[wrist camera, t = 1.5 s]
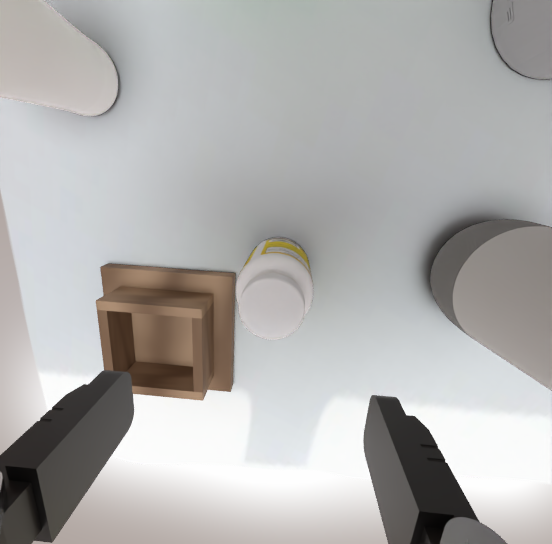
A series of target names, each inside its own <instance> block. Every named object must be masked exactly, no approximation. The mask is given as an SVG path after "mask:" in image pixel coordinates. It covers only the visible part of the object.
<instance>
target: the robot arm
mask: <svg viewBox="0 0 552 544" xmlns="http://www.w3.org/2000/svg"><path fill="white" fill-rule="evenodd" d="M491 23H492V34H493V38H494V41H495V45H496V48H497V49H498V51H499V53H500V55H501V57H502V59H503V60H504V61H505V62H506V63H507V64H508V65H509V66H510V67H511V68H512V69H514V70H515V71H517V72H519V73H520V74H522V75H524V76H528V77H531V78H535V79H552V0H493V6H492V13H491ZM133 415H134V404H133V392H132V381H131V375H130V373H129V372H123V371H112V370H104V371H102V372H101V373H100V374H99V375H98V376H97V377H96V378H95V379H94V380H93V381H92V382H91V383H90V384H88V385H85V384H84V385H82V386H81V387H79V388H77V389H75V390H74V391H72V392H70V393H68V394H67V395H65V396H64V397H63V398H62V399H61V400H60V401H59V402H58V403H57V404H56V405H55V406H53V407H52V410H49V411H48V412H47V413H46V414H45V415H44V416H43V417H41V419H40V421H37V422H36V423H35V424H34V425H33V426H32V427H31V428H30V429H28V430H27V431H26V432H25V433H24V434H23V435H22V436H21V437H20V438H19V439H18V440H16V441H15V442H14V443H13V444H12V445H11V446H10V447H9V448H8V449H7V450H6V451H5V452H4V453H2V454H1V455H0V544H31V543H32V542H33V541H43V542H51V543H52V542H53V541H54V539H55V538H56V536H57V535H58V533H59V532H60V530H61V529H62V528H63V526H64V524H65V523H66V522H67V520H68V519H69V517H70V516H71V514H72V512H73V511H74V510H75V508H76V507H77V505H78V504H79V502H80V501H81V499H82V498H83V496H84V495H85V493H86V492H87V491H88V489H89V488H90V486H91V485H92V483H93V482H94V480H95V478H96V477H97V476H98V474H99V473H100V471H101V470H102V468H103V467H104V465H105V464H106V462H107V461H108V459H109V458H110V457H111V455H112V454H113V452H114V451H115V449H116V448H117V446H118V445H119V443H120V442H121V440H122V439H123V437H124V436H125V434H126V433H127V431H128V430H129V428H130V426H131V423H132V420H133ZM364 452H365V457H366V460H367V464H368V468H369V472H370V476H371V479H372V483H373V487H374V491H375V495H376V498H377V502H378V506H379V510H380V513H381V517H382V521H383V525H384V528H385V532H386V537H387V540H388V544H507V543H506V542H505V541H504V540H503V539H502V538H501V537H500V536H499V535H498V534H496V533H495V532H494V531H493V530H492V529H490V528H489V527H487V526H485V525H484V524H482V523H480V522H479V520H478V519H477V517H476V515H475V513H474V511H473V509H472V508H471V506H470V504H469V502H468V500H467V499H466V497H465V495H464V493H463V491H462V489H461V488H460V486H459V484H458V482H457V480H456V479H455V477H454V475H453V473H452V471H451V469H450V468H449V466H448V464H447V463H445V459H444V457H443V455H442V453H441V451H440V449H438V446H437V444H436V442H435V440H434V438H433V437H432V435H431V433H430V431H429V430H428V429H427V428H426V427H425V426H424V425H423V424H422V423H421V422H420V421H419V420H418V419H417V418H416V417H415V416H407V415H406V414H405V412H404V410H403V408H402V406H401V404H400V402H399V400H398V399H397V398H396V397H388V396H377V395H372V396H371V398H370V403H369V408H368V414H367V419H366V424H365V430H364Z"/></svg>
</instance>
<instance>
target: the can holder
mask: <svg viewBox="0 0 552 544" xmlns="http://www.w3.org/2000/svg"><path fill="white" fill-rule="evenodd" d="M101 276H102V285H103V293H104V296H103V297H101V298H99V299H98V300H96V306H97V314H98V323H99V331H100V339H101V347H102V355H103V363H104V370H112V371H123V372H129V373H130V375H131V381H132V392H133V394H142V395H152V396H163V397H173V398H183V399H194V400H203V399H204V397H205V394H206V392H207V390H217V391H228V392H231V389H232V386H233V359H234V310H235V273H226V272H213V271H200V270H187V269H174V268H161V267H148V266H134V265H121V264H106V265H104V266H101Z"/></svg>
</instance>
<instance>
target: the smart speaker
mask: <svg viewBox="0 0 552 544" xmlns="http://www.w3.org/2000/svg"><path fill="white" fill-rule="evenodd" d="M430 282H431V289H432V293H433V296H434V298H435V301H436V303H437V304H438V306H439V308H440V309H441V311H442V312H443V313H444V314H445V316H446V317H447V318H448V319H449V320H450V321H451V322H452V323H453V324H454V325H456V326H457V327H458V328H459V329H461V330H462V331H463V332H465V333H466V334H467V335H469V336H470V337H471V338H473V339H474V340H476V341H477V342H479V343H480V344H482V345H483V346H485V347H486V348H488V349H489V350H491V351H492V352H494V353H495V354H497V355H498V356H500V357H501V358H503V359H504V360H506V361H507V362H509V363H510V364H512V365H513V366H515V367H516V368H518V369H519V370H521V371H523V372H524V373H526V374H527V375H529V376H530V377H532V378H533V379H535V380H536V381H538V382H539V383H540V384H542V385H544V386H545V387H547V388H548V389H550V390H551V391H552V227H549V226H545V225H541V224H537V223H533V222H528V221H521V220H493V221H486V222H482V223H478V224H475V225H472V226H470V227H468V228H466V229H464V230H462V231H460V232H458V233H457V234H455V235H454V236H453V237H452V238H450V239H449V240H448V241H447V242H446V243H445V244H444V245H443V247H442V248H441V249H440V251H439V252H438V254H437V256H436V258H435V260H434V262H433V265H432V269H431V276H430Z"/></svg>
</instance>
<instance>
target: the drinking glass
mask: <svg viewBox="0 0 552 544" xmlns="http://www.w3.org/2000/svg"><path fill="white" fill-rule="evenodd" d="M117 92H118V77H117V72H116V69H115V66H114V64H113V62H112V60H111V59H110V57H109V56H108V54H107V53H106V52H105V51H104V50H103V49H102V48H101V47H100V46H99V45H98V44H97V43H95V42H94V41H93V40H91V39H90V38H88V37H87V36H85V35H84V34H83V33H82V32H80V31H79V30H78V29H77V28H76V27H74V26H73V25H72V24H71V23H70V22H69V21H67V20H66V19H65V18H64V17H63V16H62V15H60V14H59V13H58V12H57V11H56V10H55V9H53V8H52V7H51V6H50V5H49V4H48V3H46V2H45V1H44V0H0V98H5V99H11V100H16V101H21V102H26V103H31V104H36V105H41V106H46V107H51V108H56V109H60V110H65V111H69V112H72V113H75V114H78V115H82V116H97V115H100V114H102V113H104V112H106V111H107V110H108V109H109V108H110V107H111V106H112V105H113V103H114V101H115V99H116V96H117Z"/></svg>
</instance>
